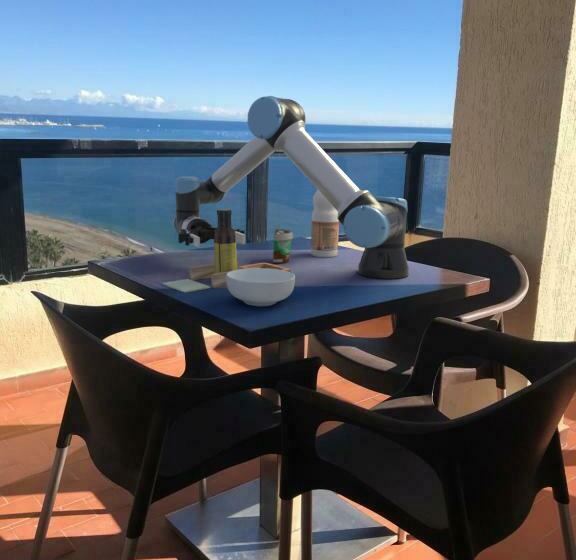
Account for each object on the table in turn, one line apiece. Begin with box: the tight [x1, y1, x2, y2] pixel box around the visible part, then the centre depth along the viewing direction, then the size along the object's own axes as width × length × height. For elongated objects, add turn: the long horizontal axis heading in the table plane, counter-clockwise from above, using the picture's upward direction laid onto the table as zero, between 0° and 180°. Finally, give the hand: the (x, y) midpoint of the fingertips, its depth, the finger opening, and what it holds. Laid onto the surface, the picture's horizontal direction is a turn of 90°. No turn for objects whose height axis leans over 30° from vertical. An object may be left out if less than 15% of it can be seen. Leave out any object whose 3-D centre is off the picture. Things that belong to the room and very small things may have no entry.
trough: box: [189, 260, 261, 289], centre depth 169 cm, size 12×16×4 cm
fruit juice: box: [310, 188, 340, 258], centre depth 205 cm, size 9×9×28 cm
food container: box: [272, 228, 294, 265], centre depth 194 cm, size 12×6×10 cm, turn 179°
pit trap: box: [238, 262, 292, 273], centre depth 179 cm, size 12×10×2 cm
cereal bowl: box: [226, 268, 296, 307], centre depth 147 cm, size 17×17×7 cm
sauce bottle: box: [213, 208, 238, 273], centre depth 167 cm, size 6×6×20 cm
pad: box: [162, 278, 211, 293], centre depth 161 cm, size 11×8×1 cm
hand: (221, 240), depth 168 cm, fingers open, 13 cm apart
